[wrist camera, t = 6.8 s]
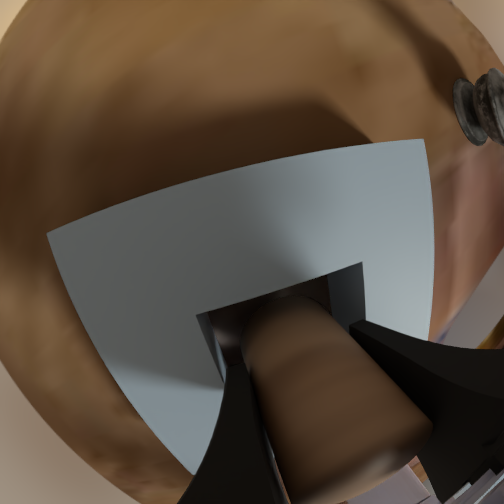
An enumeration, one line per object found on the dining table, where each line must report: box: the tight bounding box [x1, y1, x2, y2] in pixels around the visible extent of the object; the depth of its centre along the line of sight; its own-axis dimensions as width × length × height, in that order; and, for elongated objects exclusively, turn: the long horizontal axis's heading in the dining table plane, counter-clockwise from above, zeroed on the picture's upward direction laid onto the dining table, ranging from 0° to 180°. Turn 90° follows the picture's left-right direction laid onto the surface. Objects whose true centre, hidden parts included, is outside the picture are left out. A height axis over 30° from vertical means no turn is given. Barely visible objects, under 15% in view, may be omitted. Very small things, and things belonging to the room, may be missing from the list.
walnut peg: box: [240, 296, 433, 504], centre depth 8 cm, size 4×4×7 cm
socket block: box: [46, 139, 434, 475], centre depth 11 cm, size 14×14×4 cm
